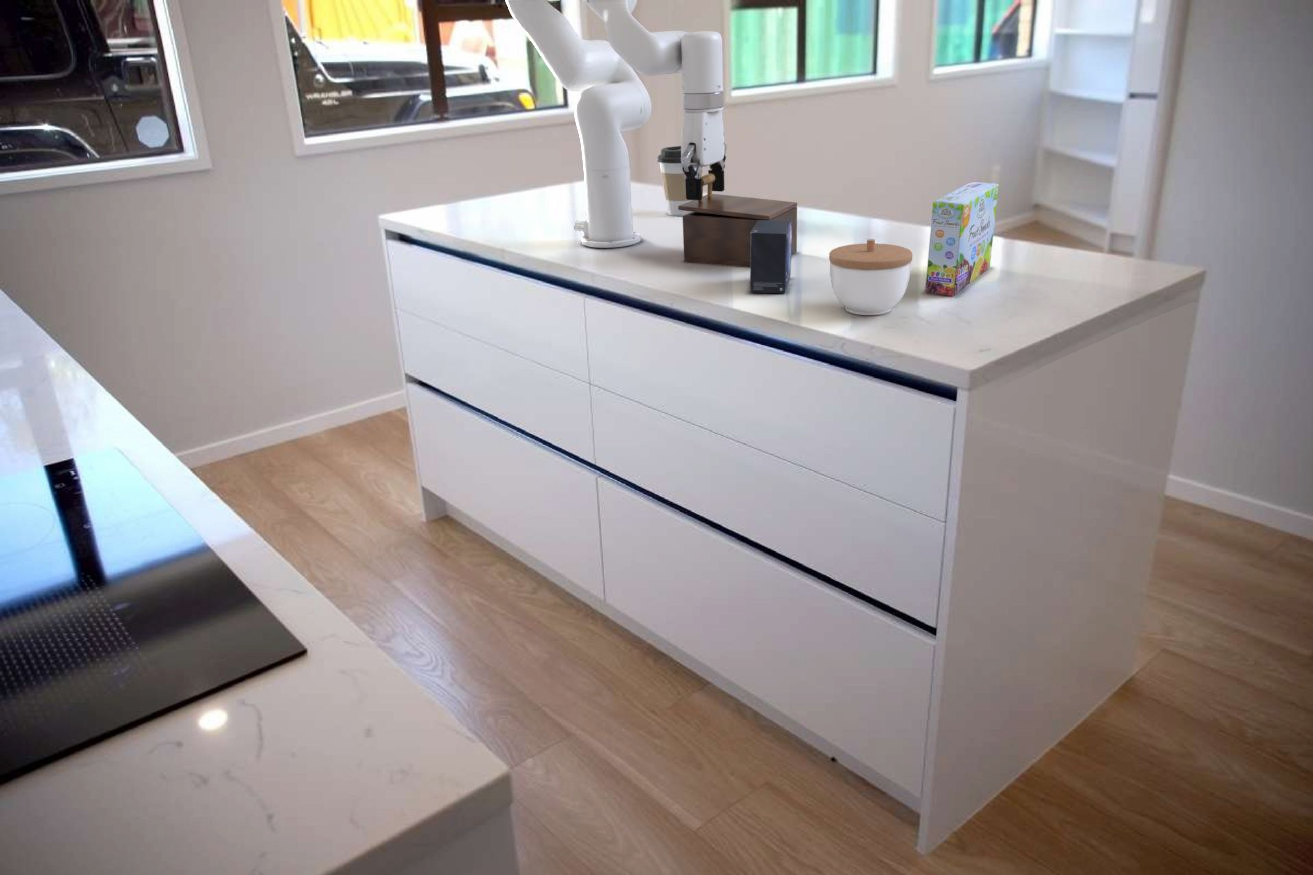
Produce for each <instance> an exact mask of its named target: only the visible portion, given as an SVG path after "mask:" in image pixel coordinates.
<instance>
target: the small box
mask: <svg viewBox="0 0 1313 875" xmlns="http://www.w3.org/2000/svg"><path fill="white" fill-rule="evenodd" d="M791 239H792V232H791V221H767V220H758V221H757V222H756V224H755V225H754V227H753V229H752V231H751V232H750V267H749V293H750V294H751V293H754V294H755V293H756V294H757V293H758V294H759V293H760V294H785V293H786V291H787V289H788V286H789V284H790V280H791V273H792V256H791Z"/></svg>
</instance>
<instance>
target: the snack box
mask: <svg viewBox="0 0 1313 875" xmlns="http://www.w3.org/2000/svg"><path fill="white" fill-rule="evenodd" d="M999 188H1000V184H999V183H990V182H978V181H977V182H976V181H975V182H973V181H971V182H968V183H967V184H965V185H963V186H961V187H959V188H957V189H956V190H954V191H951V192H950V193H947V194H946V195H944V196H942V197H940V198H938V199H937V200H934V201H933V202H932V210H931V221H930V222H931V223H930V233H929V245H928V256H927V267H926V277H925V287H924V293H930V294H937V295H944V296H952V297H954V296H955V295H956V294H958V293H959V292H961V291H962V290H963V289H964V288H966V286H968V285H969V284H970V283H972V282H973V281H975V280H976V279H977V278H979V277H980V276H981V275H983V274H984V273H985V272H986V271H987V270H989V269H990V268H991V260H992V250H993V240H994V232H995V223H996V215H997V206H998V204H997V203H998V196H999Z"/></svg>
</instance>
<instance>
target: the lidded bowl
mask: <svg viewBox="0 0 1313 875" xmlns="http://www.w3.org/2000/svg"><path fill="white" fill-rule="evenodd" d="M828 254H829V256H828V260H829V278H830V284H831V289H832V292H833V295H834V296H835V298H836V299H837V301H838V302H839V303H840V304H841V305H842V306H843V307H845V311H846V312H847V313H850V314H852V315H857V316H858V315H859V316H880V315H885V314H888V313H890V312H892V310H893V309H892V308H894V307H895V306H896V305H897V304H898V303H899V302H900V301H901V300H902V298H903V297H904V295H905V293H906V291H907V288H908V285H909V282H910V276H911V270H912V268H911V267H912V260H913V252H912V251H911V250H910V249H909V248H907V247H904V246H900V245H896V244H888V243H876V239H875V238H868V239H866V243H853V244H847V245H841V246H838V247H835V248H833V249H831V250H830V251H829V253H828Z"/></svg>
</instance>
